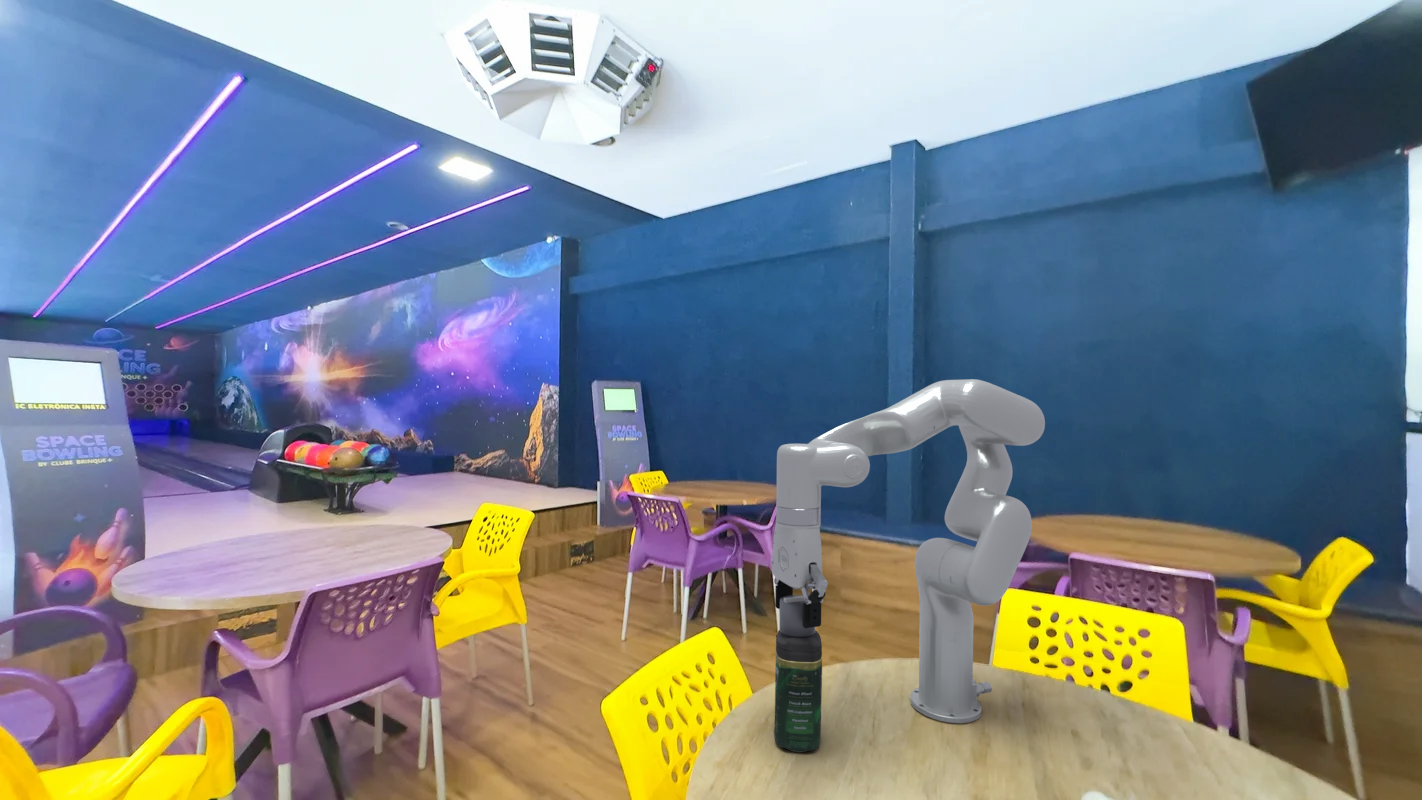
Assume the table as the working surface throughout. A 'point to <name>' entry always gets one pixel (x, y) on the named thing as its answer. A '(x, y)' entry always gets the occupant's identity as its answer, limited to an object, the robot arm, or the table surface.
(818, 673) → the coffee jar
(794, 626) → the lid
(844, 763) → the table surface
